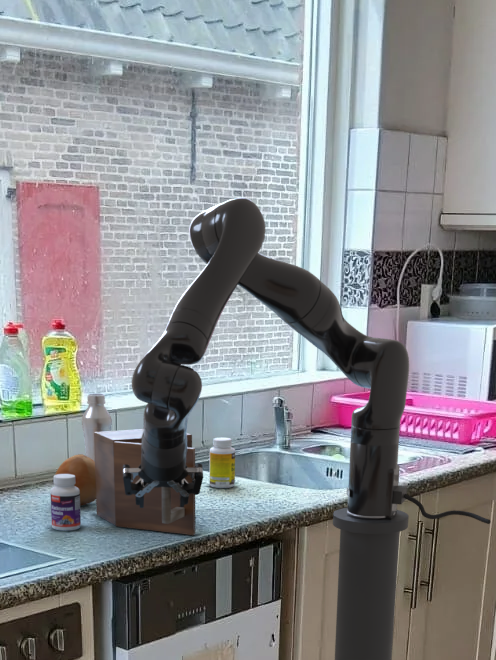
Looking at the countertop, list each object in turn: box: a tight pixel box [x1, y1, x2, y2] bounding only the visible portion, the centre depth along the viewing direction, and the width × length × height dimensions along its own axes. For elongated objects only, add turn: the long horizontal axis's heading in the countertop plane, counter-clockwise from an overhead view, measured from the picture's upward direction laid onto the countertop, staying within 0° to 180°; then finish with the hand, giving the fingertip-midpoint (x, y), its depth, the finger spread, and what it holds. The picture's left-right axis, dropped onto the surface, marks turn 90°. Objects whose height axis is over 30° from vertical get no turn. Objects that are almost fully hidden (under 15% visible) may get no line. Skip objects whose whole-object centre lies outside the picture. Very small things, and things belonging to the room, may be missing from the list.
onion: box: [54, 453, 96, 507], centre depth 240 cm, size 10×10×10 cm
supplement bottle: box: [208, 437, 236, 489], centre depth 260 cm, size 6×6×10 cm
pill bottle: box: [49, 474, 82, 532], centre depth 222 cm, size 5×5×10 cm
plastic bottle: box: [81, 392, 113, 461], centre depth 252 cm, size 6×7×20 cm
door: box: [114, 441, 196, 536], centre depth 217 cm, size 8×16×16 cm, turn 68°
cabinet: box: [94, 428, 193, 527], centre depth 231 cm, size 10×16×16 cm, turn 118°
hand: (161, 503), depth 213 cm, fingers open, 6 cm apart
